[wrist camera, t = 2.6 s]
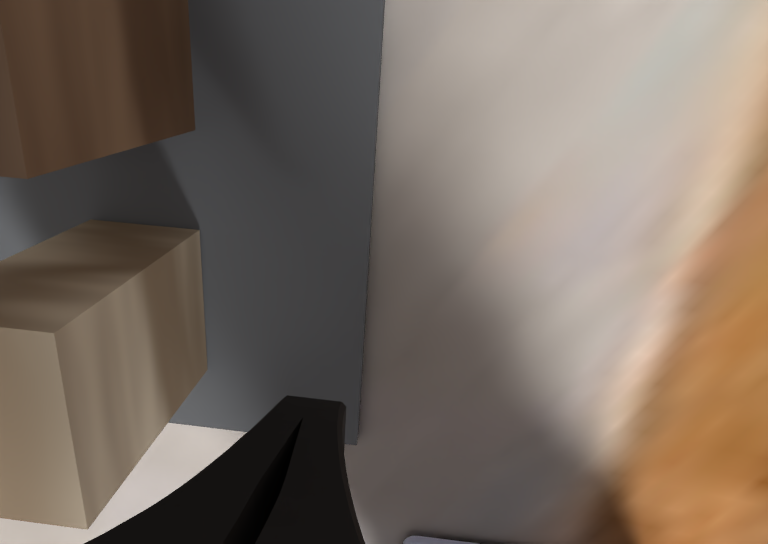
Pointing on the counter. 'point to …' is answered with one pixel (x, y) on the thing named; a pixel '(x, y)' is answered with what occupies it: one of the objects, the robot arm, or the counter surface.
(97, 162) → the mat
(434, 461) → the counter surface
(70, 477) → the beech block
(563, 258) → the counter surface
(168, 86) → the walnut block
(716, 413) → the counter surface
